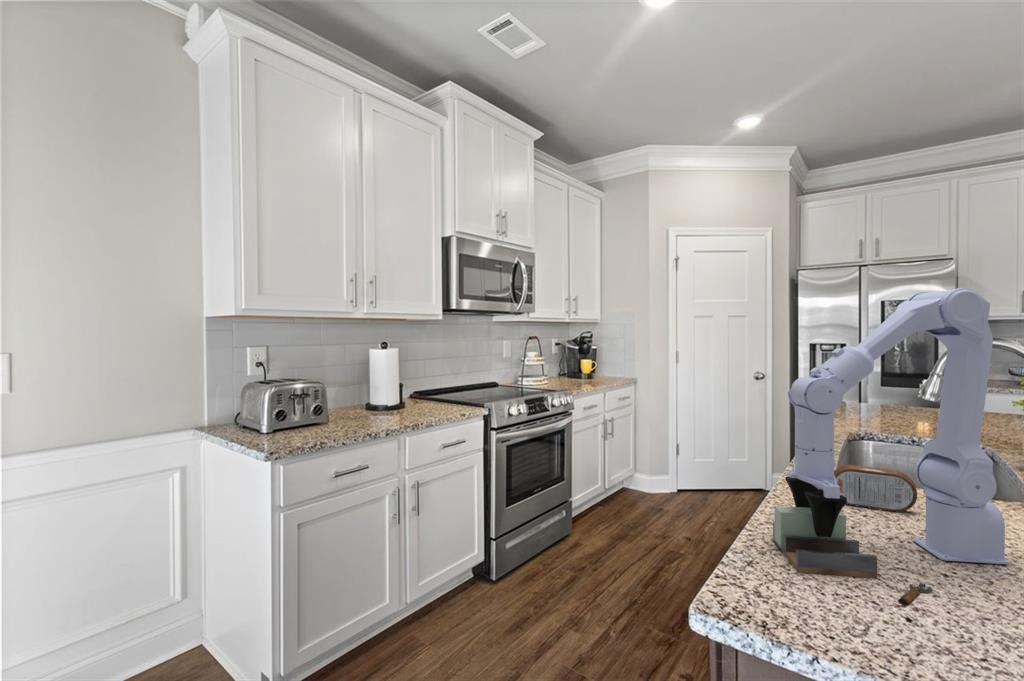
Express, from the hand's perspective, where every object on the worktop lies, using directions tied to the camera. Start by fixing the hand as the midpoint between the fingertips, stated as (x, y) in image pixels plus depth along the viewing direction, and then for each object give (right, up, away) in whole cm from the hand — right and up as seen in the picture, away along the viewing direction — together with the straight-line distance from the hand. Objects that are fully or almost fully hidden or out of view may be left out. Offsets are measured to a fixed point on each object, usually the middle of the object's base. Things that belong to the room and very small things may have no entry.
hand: (814, 527), depth 86 cm
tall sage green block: (-1, -3, 0) cm, 3 cm away
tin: (+25, -4, +21) cm, 33 cm away
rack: (-1, -4, -3) cm, 5 cm away
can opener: (+6, -5, -15) cm, 16 cm away
